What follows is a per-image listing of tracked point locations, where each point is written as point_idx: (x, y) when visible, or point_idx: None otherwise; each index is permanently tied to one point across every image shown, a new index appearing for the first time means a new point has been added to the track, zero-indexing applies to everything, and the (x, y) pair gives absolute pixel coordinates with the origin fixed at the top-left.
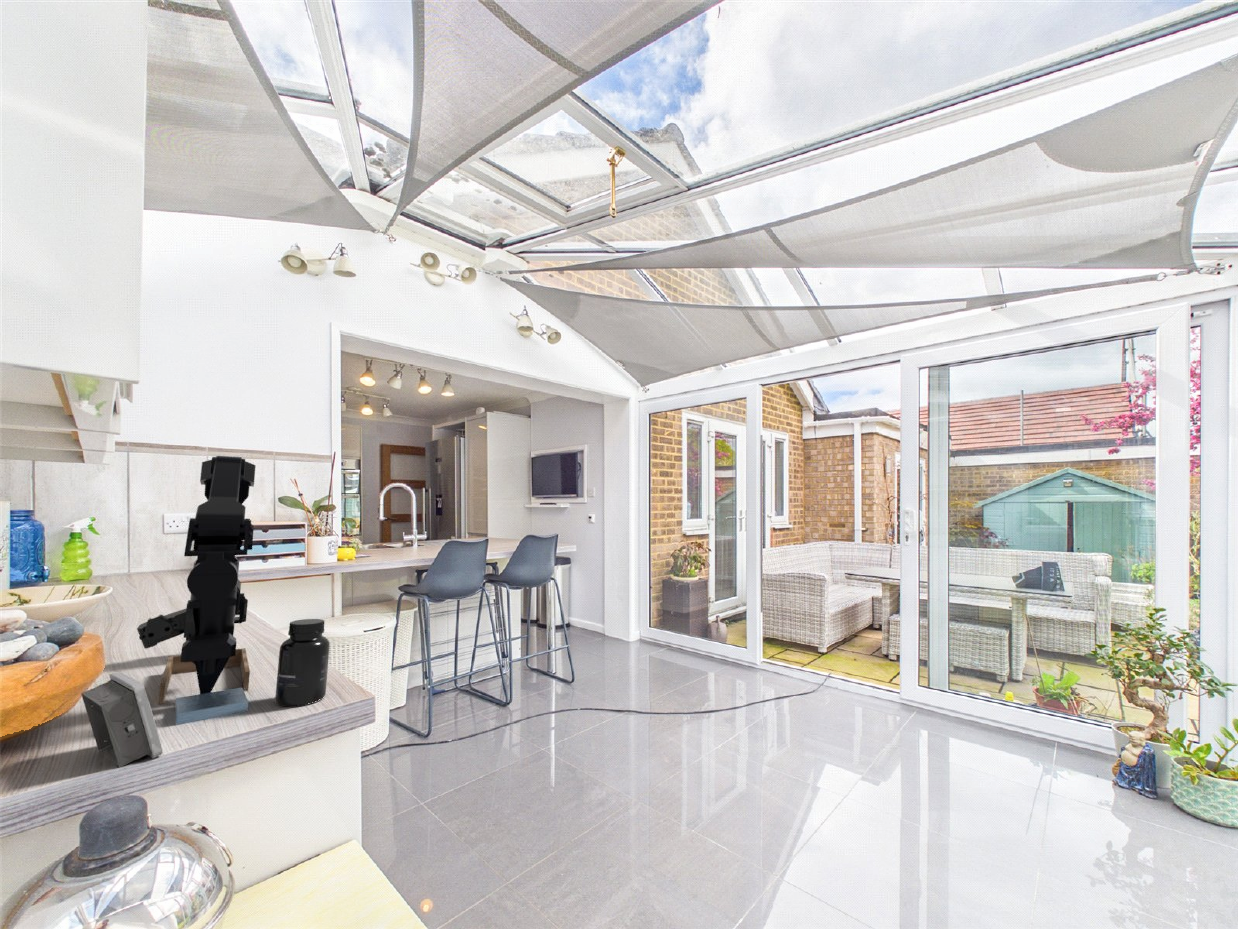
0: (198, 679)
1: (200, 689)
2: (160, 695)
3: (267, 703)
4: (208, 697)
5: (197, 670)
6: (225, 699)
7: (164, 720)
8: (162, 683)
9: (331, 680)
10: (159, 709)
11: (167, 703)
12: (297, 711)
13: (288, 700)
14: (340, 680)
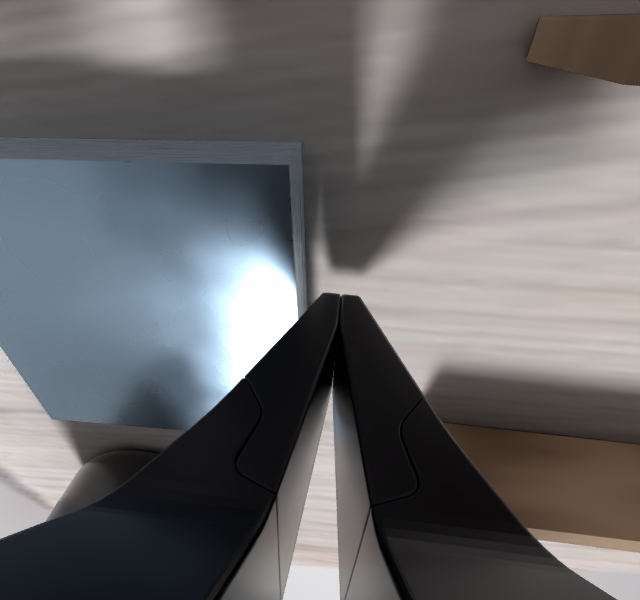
0: (260, 363)
1: (302, 317)
2: (567, 33)
3: (169, 434)
4: (188, 323)
5: (192, 432)
6: (113, 371)
7: (54, 72)
8: (632, 50)
9: (335, 557)
10: (360, 33)
11: (497, 93)
12: (43, 461)
13: (72, 480)
14: (318, 564)
